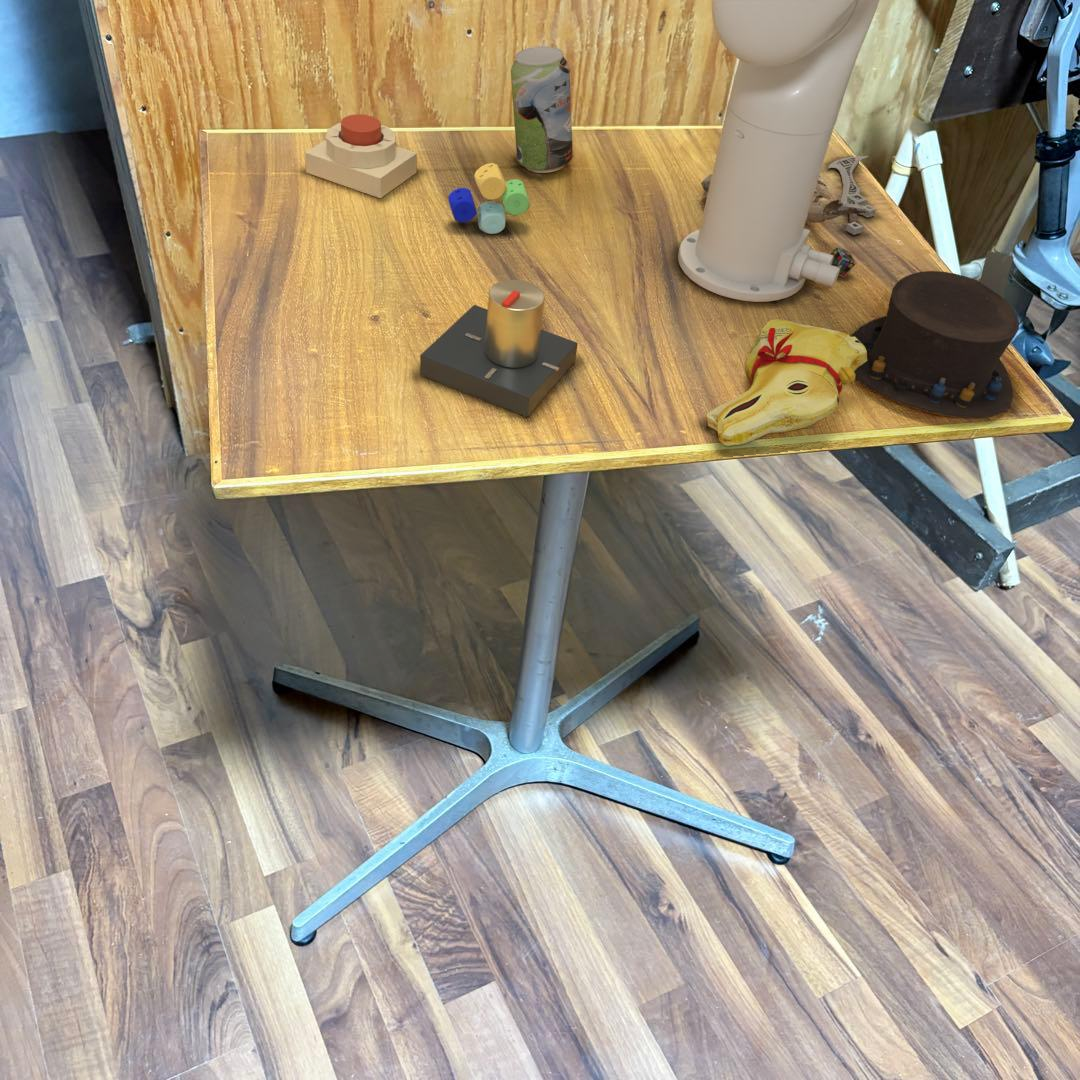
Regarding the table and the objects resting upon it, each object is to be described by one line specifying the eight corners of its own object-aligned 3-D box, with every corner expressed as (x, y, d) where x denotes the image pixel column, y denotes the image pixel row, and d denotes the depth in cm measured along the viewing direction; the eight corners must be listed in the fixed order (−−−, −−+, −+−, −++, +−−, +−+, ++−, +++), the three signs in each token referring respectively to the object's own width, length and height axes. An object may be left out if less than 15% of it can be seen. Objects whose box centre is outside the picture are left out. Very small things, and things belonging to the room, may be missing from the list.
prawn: (826, 109, 119) (787, 161, 124) (747, 70, 114) (709, 126, 118) (914, 251, 105) (866, 303, 109) (828, 214, 99) (781, 271, 103)
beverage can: (571, 182, 114) (585, 68, 106) (502, 175, 114) (511, 60, 105) (571, 155, 119) (584, 44, 110) (505, 149, 118) (513, 37, 110)
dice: (448, 234, 104) (451, 171, 100) (445, 220, 106) (448, 158, 101) (529, 234, 106) (535, 173, 101) (525, 221, 107) (531, 160, 103)
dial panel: (578, 363, 91) (581, 342, 90) (530, 418, 85) (533, 397, 84) (472, 323, 94) (474, 302, 92) (419, 374, 88) (420, 353, 86)
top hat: (1016, 444, 89) (1073, 340, 82) (838, 402, 91) (877, 296, 83) (1007, 346, 100) (1056, 246, 92) (847, 311, 101) (882, 209, 94)
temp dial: (499, 330, 90) (504, 270, 86) (546, 347, 89) (554, 286, 85) (475, 356, 87) (479, 295, 83) (523, 374, 86) (530, 313, 82)
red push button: (388, 138, 109) (388, 121, 108) (367, 152, 107) (366, 135, 106) (355, 127, 110) (355, 110, 109) (333, 140, 108) (332, 123, 107)
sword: (829, 232, 112) (877, 239, 112) (831, 224, 111) (880, 231, 111) (826, 153, 126) (868, 159, 126) (828, 146, 126) (871, 152, 125)
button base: (416, 172, 112) (417, 135, 110) (380, 198, 108) (380, 160, 105) (344, 148, 115) (343, 111, 112) (306, 172, 110) (303, 135, 107)
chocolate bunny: (885, 381, 89) (792, 484, 81) (770, 358, 96) (674, 452, 88) (882, 308, 85) (784, 410, 77) (762, 290, 91) (661, 382, 84)
